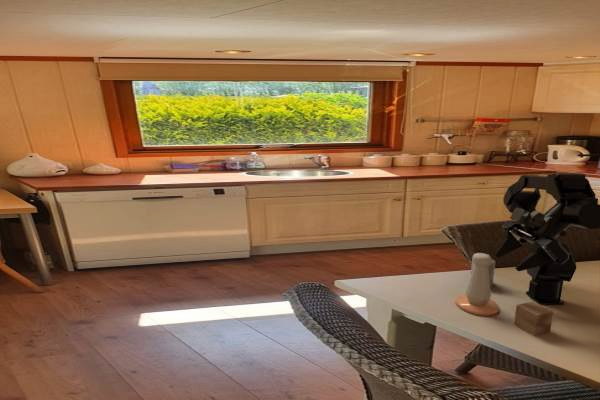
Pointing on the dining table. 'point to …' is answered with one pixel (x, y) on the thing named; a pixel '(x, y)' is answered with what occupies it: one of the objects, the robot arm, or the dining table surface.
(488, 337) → the dining table surface
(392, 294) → the dining table surface
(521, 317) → the walnut block
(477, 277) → the salt shaker
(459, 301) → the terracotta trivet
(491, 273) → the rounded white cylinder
